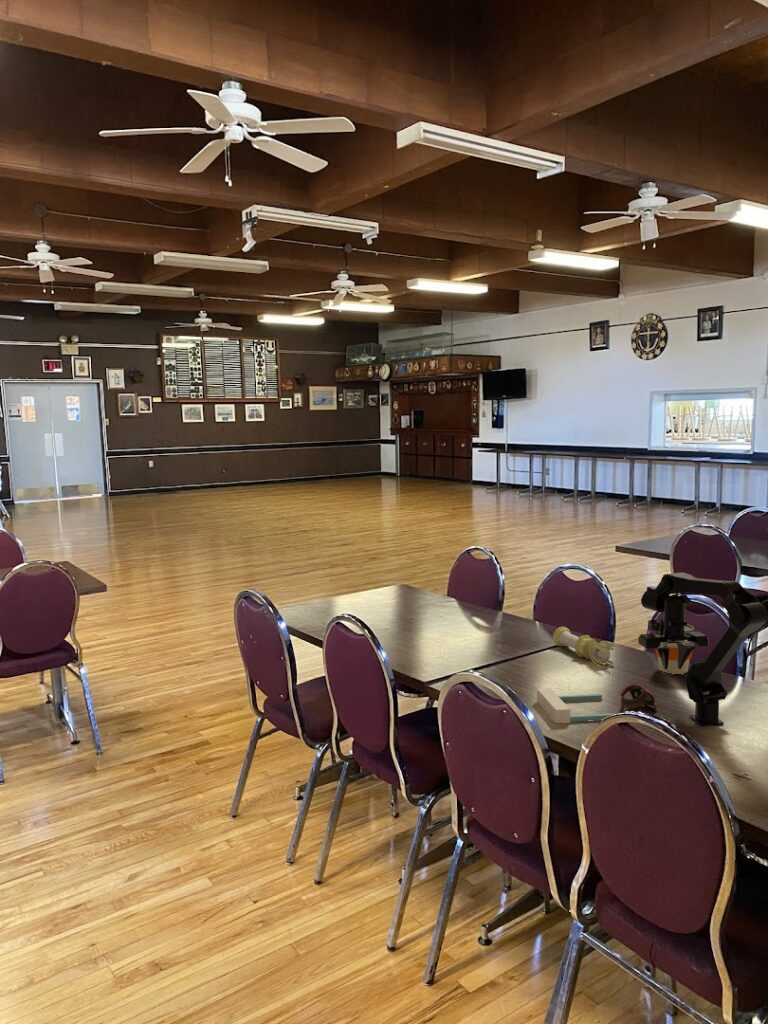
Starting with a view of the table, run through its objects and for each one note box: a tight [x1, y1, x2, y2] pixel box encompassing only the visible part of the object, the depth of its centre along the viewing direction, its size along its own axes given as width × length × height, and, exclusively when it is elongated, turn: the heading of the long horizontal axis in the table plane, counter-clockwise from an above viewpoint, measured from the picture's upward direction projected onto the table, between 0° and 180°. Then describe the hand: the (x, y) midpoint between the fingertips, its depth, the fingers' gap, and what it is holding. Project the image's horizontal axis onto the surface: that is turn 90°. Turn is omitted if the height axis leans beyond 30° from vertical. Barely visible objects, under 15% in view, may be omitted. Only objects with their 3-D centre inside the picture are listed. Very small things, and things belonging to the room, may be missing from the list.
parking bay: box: [536, 687, 615, 724], centre depth 211 cm, size 17×20×4 cm
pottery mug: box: [620, 682, 658, 712], centre depth 212 cm, size 12×10×8 cm
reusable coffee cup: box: [654, 621, 695, 675], centre depth 244 cm, size 13×13×15 cm
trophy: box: [552, 626, 616, 670], centre depth 261 cm, size 8×8×30 cm
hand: (672, 669), depth 213 cm, fingers open, 4 cm apart
